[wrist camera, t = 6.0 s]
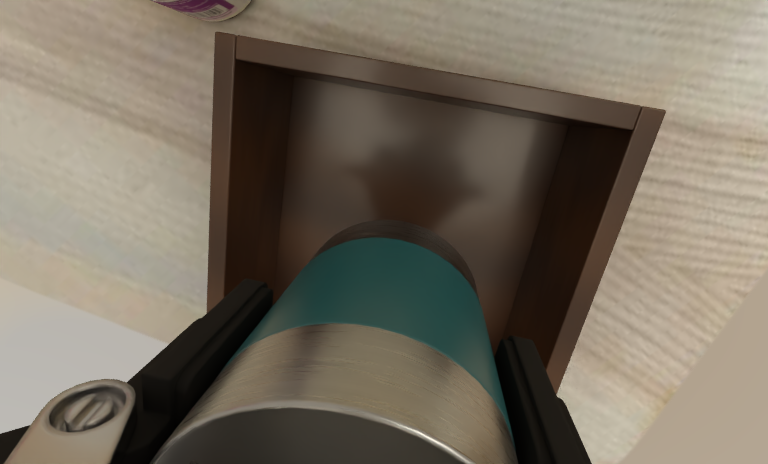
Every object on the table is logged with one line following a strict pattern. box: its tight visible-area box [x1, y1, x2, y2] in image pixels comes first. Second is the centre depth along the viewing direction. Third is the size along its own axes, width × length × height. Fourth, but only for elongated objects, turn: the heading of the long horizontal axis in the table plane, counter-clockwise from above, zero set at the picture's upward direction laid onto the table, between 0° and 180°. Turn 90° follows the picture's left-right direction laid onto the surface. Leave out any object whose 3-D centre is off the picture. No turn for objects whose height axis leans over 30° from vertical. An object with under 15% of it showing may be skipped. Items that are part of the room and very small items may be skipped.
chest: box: [207, 32, 666, 394], centre depth 19 cm, size 17×16×7 cm
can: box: [150, 220, 518, 464], centre depth 9 cm, size 6×6×8 cm
